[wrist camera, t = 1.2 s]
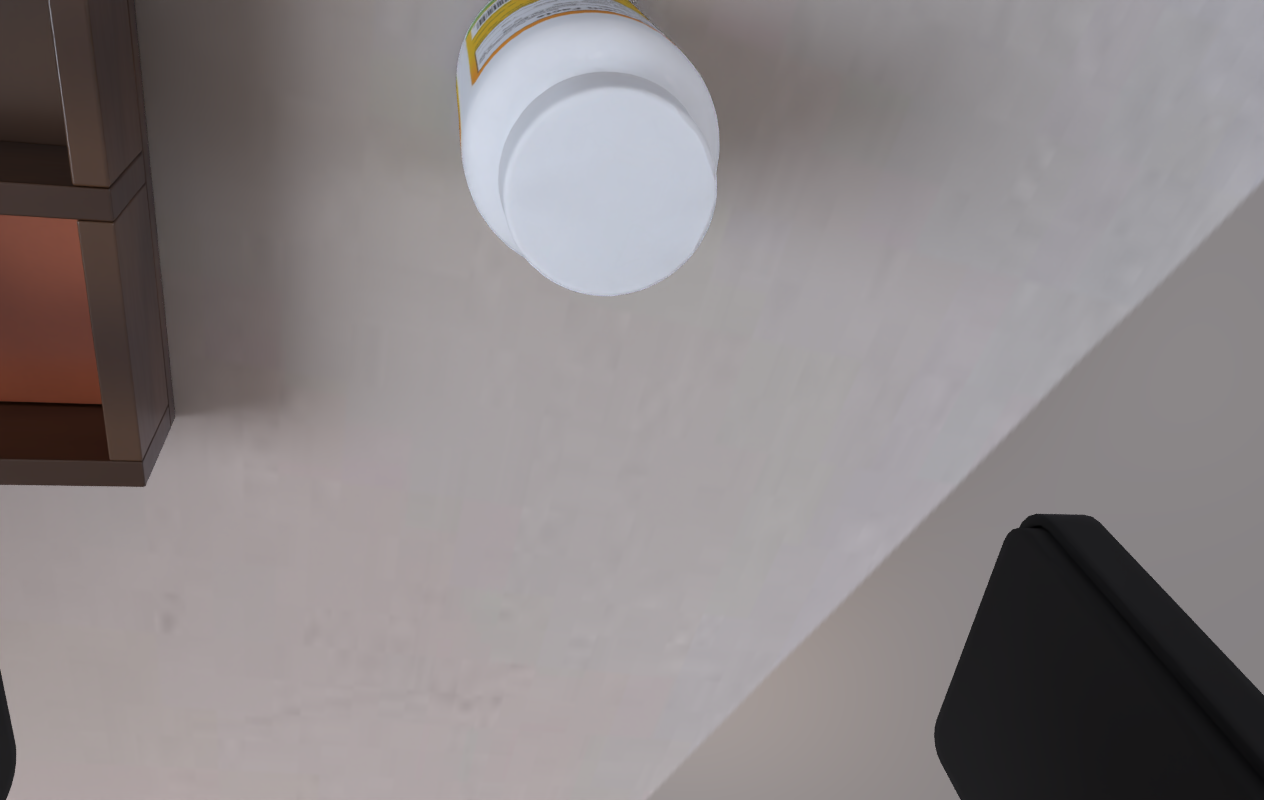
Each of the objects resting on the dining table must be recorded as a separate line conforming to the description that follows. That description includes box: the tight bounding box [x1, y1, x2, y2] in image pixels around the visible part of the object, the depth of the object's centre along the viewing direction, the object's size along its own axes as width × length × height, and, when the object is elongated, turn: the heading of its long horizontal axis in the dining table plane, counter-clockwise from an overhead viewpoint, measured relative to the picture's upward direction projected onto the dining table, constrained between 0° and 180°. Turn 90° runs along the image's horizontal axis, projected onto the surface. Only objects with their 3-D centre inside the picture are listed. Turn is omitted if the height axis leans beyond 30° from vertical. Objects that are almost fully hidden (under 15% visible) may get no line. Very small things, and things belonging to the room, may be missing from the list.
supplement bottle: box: [456, 0, 720, 296], centre depth 23 cm, size 5×5×10 cm
